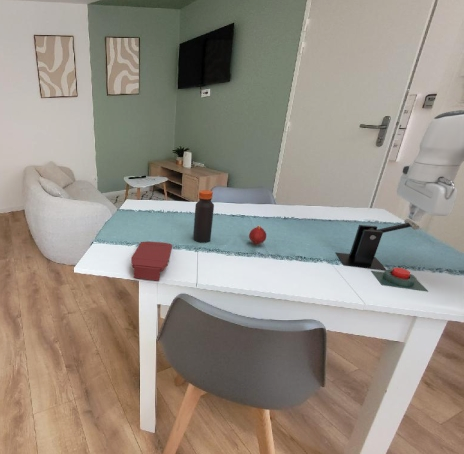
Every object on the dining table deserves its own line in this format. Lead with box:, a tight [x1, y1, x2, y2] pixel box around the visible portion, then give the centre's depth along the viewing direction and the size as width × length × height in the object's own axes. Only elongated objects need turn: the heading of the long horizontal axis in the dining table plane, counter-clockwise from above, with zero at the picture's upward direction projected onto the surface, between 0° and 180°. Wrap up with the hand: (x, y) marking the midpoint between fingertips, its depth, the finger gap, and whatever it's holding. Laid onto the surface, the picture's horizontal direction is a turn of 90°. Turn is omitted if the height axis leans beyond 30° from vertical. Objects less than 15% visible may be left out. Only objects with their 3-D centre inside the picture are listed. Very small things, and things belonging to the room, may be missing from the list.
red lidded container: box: [130, 240, 173, 282], centre depth 104 cm, size 12×5×25 cm
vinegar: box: [192, 189, 215, 243], centre depth 114 cm, size 7×7×20 cm
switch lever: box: [361, 218, 420, 234], centre depth 89 cm, size 12×5×2 cm, turn 67°
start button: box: [391, 267, 411, 279], centre depth 84 cm, size 4×4×2 cm
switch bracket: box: [335, 224, 387, 272], centre depth 93 cm, size 11×9×13 cm
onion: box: [248, 225, 267, 246], centre depth 110 cm, size 6×6×8 cm
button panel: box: [370, 268, 429, 293], centre depth 84 cm, size 10×8×3 cm
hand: (413, 219), depth 86 cm, fingers closed
